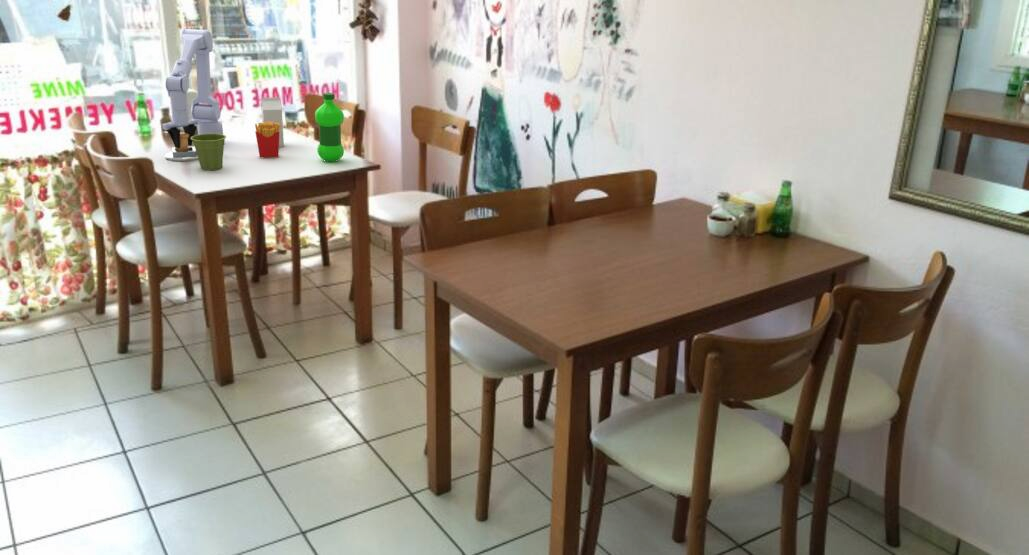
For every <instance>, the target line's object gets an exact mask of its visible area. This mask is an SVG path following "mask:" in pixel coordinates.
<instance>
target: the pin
mask: <svg viewBox="0 0 1029 555" xmlns="http://www.w3.org/2000/svg"><path fill="white" fill-rule="evenodd" d="M188 137H189V134H188V133H185V132H184V131H181V132H180V148H176V151H177V152H178V151H188V147H189V145H188Z"/></svg>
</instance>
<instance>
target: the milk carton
mask: <svg viewBox="0 0 1029 555" xmlns="http://www.w3.org/2000/svg"><path fill="white" fill-rule="evenodd" d="M260 98H261V103H260V104H261V105H260V108H261V110H260V112H261V123H267V122H272V124H273V122H276V123H280V125H281V126H280V130H279V132H280V133H279V148H282V147H283V146H284V147H285V142H284V140H285V139H284V127H283V125H284V124H283V108H282V102H281V97H260ZM284 147H283V148H284Z"/></svg>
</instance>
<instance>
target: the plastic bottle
mask: <svg viewBox="0 0 1029 555" xmlns="http://www.w3.org/2000/svg"><path fill="white" fill-rule="evenodd" d="M335 95H336V94H335V93H334V92H323V93H322V99H323V100H324V103H323V104H321V105H320V106H319V107H318V108H317V109H316V110H315V112H314V118H315V122H316V123H317V124H318V133H319V135H318V136H319V144H318V146H317V148H316V149H317V155H318V156H319V157H320V159H322V160H323V161H324V160H325V161H336V160H338V161H340V159H342V157H343V156H344V155H345V154H344V153H345V149H344V147H343V145H342V132H341V131H342V129H341V125H342V124H343V123H344V120H345V116H344V112H343V110H342V109H340V108H339V106H337V105H336V104H335V103H334V100H336V99H335V98H336V96H335ZM325 161H324V162H325Z"/></svg>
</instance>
